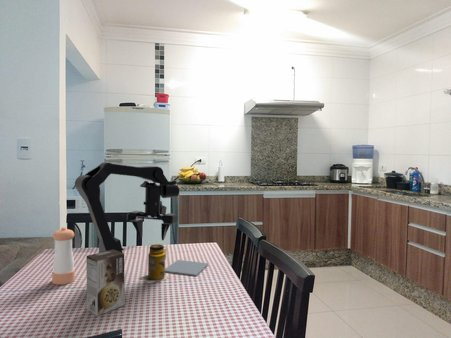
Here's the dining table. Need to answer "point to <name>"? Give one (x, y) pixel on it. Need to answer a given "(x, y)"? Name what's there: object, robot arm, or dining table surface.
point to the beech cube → (165, 250)
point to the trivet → (186, 267)
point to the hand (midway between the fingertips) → (151, 239)
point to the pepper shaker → (63, 257)
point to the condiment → (155, 264)
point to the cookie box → (105, 281)
